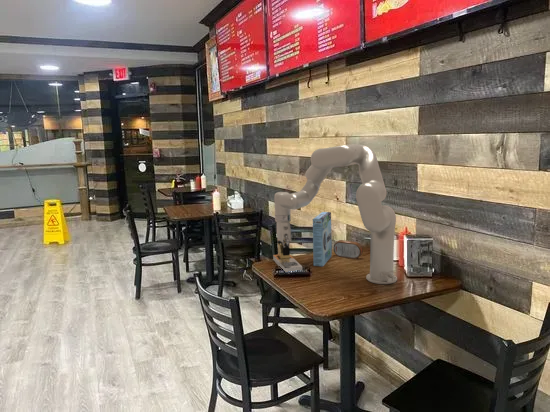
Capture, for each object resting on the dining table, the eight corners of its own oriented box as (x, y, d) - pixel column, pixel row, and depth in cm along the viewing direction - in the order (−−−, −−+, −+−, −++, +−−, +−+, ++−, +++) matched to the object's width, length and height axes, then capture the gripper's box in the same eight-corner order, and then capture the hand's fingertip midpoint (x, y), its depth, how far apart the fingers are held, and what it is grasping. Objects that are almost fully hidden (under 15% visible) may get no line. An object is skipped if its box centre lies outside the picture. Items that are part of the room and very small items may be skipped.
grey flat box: (302, 272, 190) (302, 266, 190) (285, 274, 188) (285, 268, 188) (288, 259, 211) (288, 253, 211) (273, 261, 209) (273, 255, 209)
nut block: (289, 263, 204) (289, 244, 202) (280, 263, 203) (280, 245, 201) (287, 260, 208) (286, 242, 207) (278, 261, 207) (277, 243, 206)
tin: (363, 258, 210) (363, 242, 208) (360, 260, 207) (360, 243, 206) (335, 254, 218) (335, 238, 216) (332, 256, 215) (332, 240, 214)
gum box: (323, 267, 197) (322, 219, 194) (312, 266, 199) (311, 218, 195) (332, 256, 215) (331, 212, 212) (322, 255, 217) (321, 211, 213)
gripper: (295, 220, 195) (296, 256, 197) (285, 214, 211) (286, 247, 214) (279, 221, 193) (280, 258, 196) (270, 215, 209) (271, 248, 212)
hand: (283, 252), depth 205 cm, fingers open, 9 cm apart
